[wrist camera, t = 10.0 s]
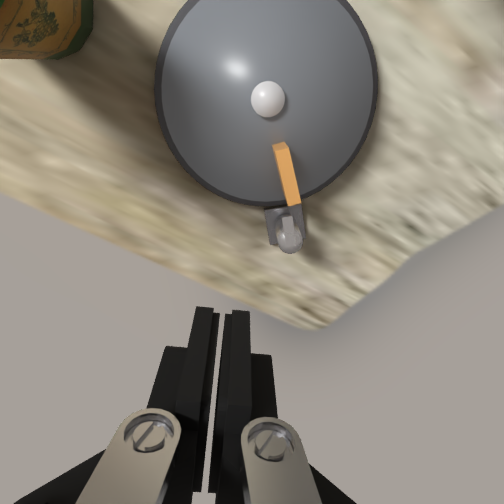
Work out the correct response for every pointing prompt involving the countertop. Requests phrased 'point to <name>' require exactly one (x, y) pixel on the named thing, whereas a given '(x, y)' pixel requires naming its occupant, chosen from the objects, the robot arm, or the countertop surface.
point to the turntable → (267, 94)
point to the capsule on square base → (286, 227)
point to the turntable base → (159, 107)
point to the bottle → (43, 28)
